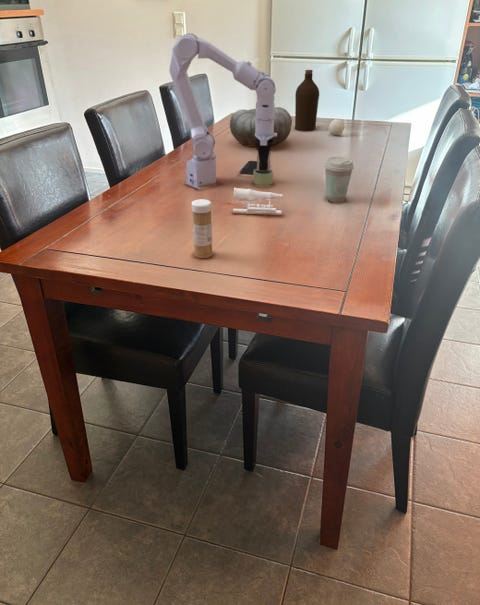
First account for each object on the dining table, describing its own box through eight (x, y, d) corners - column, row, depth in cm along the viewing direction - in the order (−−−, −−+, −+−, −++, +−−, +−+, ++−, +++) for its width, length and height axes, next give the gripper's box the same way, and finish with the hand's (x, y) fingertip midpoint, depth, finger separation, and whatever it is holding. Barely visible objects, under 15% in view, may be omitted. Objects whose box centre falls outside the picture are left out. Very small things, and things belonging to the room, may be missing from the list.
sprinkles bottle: (203, 249, 126) (201, 197, 119) (216, 254, 123) (215, 201, 116) (190, 255, 123) (187, 202, 116) (203, 261, 120) (200, 207, 113)
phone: (269, 162, 186) (260, 174, 173) (269, 165, 186) (260, 177, 174) (248, 160, 187) (238, 172, 175) (248, 163, 188) (238, 175, 176)
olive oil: (297, 132, 230) (301, 72, 217) (290, 127, 239) (293, 68, 226) (319, 131, 232) (324, 71, 219) (312, 125, 241) (316, 68, 228)
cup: (262, 189, 164) (263, 175, 162) (249, 184, 168) (249, 170, 166) (277, 184, 168) (277, 171, 165) (263, 180, 172) (263, 166, 170)
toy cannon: (281, 219, 147) (281, 212, 142) (233, 217, 148) (231, 210, 143) (283, 194, 149) (283, 185, 143) (236, 192, 150) (234, 184, 145)
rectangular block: (269, 176, 166) (270, 153, 162) (256, 176, 166) (257, 152, 162) (269, 175, 167) (270, 151, 163) (256, 174, 167) (257, 151, 164)
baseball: (343, 133, 228) (344, 117, 225) (343, 137, 222) (345, 121, 218) (327, 132, 229) (329, 117, 225) (327, 136, 223) (329, 120, 219)
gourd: (290, 147, 197) (285, 100, 190) (228, 155, 203) (221, 109, 196) (295, 138, 219) (291, 96, 212) (239, 146, 225) (233, 104, 218)
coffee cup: (328, 205, 151) (332, 165, 145) (317, 196, 158) (320, 157, 152) (354, 203, 153) (359, 163, 147) (342, 193, 160) (346, 155, 154)
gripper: (277, 124, 151) (275, 169, 158) (277, 114, 163) (276, 156, 170) (253, 123, 151) (253, 169, 158) (255, 113, 164) (255, 156, 171)
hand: (263, 162), depth 164 cm, fingers closed on rectangular block, 2 cm apart
